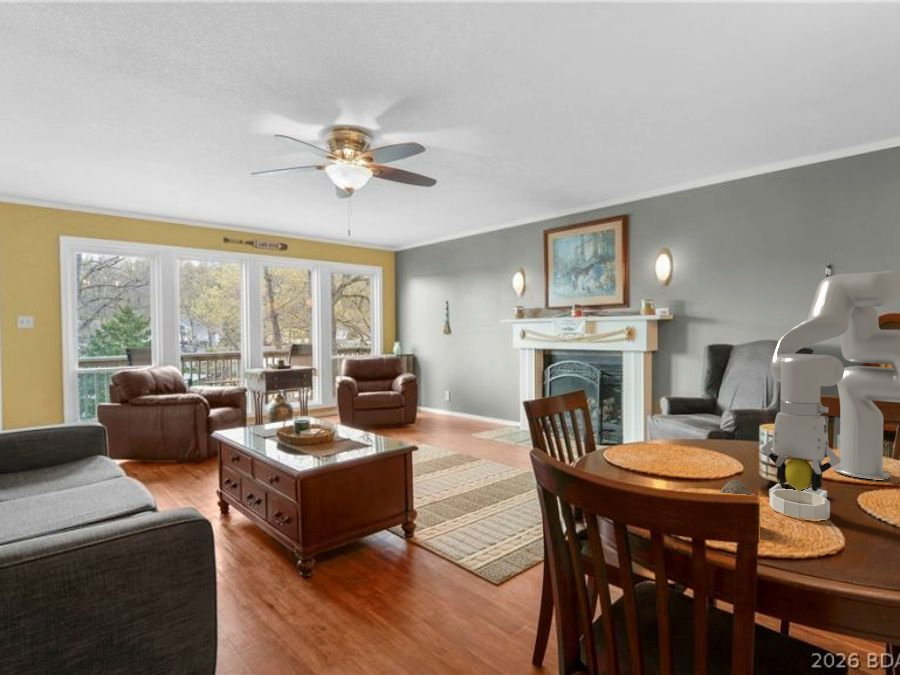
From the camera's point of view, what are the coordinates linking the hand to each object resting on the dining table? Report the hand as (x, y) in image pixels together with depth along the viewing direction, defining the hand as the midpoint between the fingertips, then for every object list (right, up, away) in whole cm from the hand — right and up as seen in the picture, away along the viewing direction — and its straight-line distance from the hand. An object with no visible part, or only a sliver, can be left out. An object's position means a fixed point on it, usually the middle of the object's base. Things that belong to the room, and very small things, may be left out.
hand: (799, 485), depth 111 cm
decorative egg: (-19, -7, -7) cm, 21 cm away
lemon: (0, -1, 0) cm, 1 cm away
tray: (+7, -6, +10) cm, 14 cm away
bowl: (0, -6, 0) cm, 6 cm away
